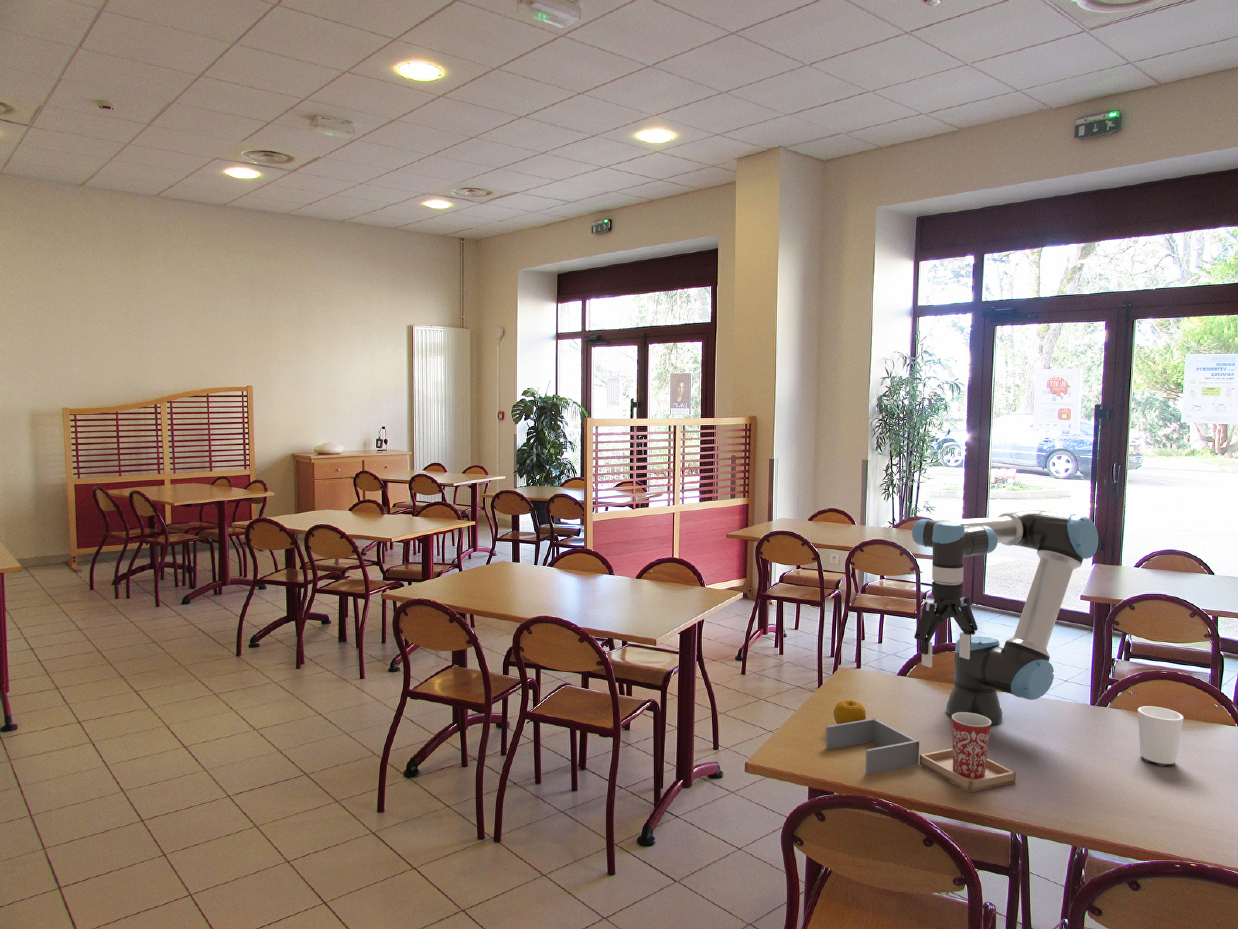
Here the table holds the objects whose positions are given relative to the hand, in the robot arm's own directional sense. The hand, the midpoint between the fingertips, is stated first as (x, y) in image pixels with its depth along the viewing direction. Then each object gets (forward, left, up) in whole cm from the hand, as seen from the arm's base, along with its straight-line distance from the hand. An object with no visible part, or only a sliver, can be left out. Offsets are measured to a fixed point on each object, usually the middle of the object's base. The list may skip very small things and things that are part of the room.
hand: (945, 662), depth 212 cm
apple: (+15, -19, -24) cm, 34 cm away
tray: (+4, +12, -24) cm, 27 cm away
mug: (+4, +12, -23) cm, 26 cm away
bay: (+20, -4, -24) cm, 31 cm away
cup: (-48, +25, -24) cm, 59 cm away
